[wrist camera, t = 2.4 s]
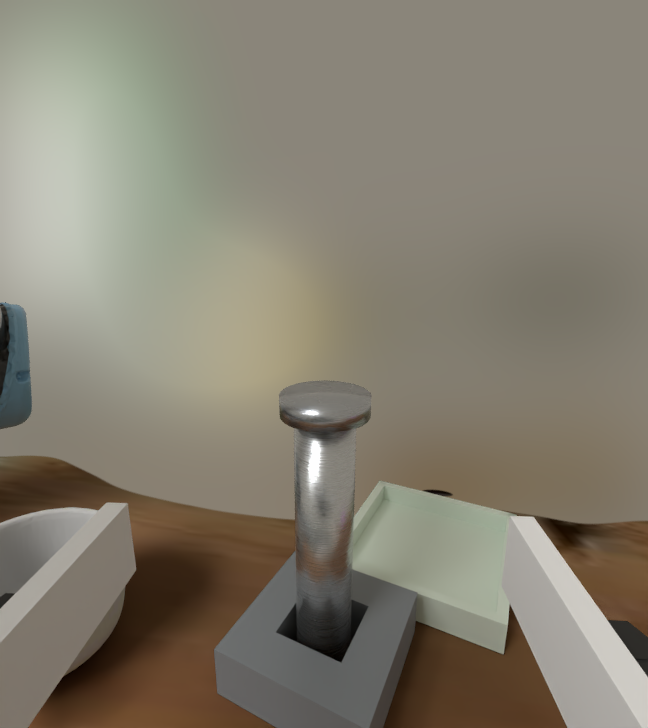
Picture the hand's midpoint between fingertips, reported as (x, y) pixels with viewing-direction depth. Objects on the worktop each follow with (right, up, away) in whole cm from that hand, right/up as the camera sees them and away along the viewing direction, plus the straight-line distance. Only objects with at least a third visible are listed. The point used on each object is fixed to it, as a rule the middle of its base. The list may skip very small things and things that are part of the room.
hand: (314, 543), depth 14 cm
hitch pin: (0, -14, +14) cm, 20 cm away
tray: (+10, -12, +24) cm, 28 cm away
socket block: (0, -14, +14) cm, 20 cm away
